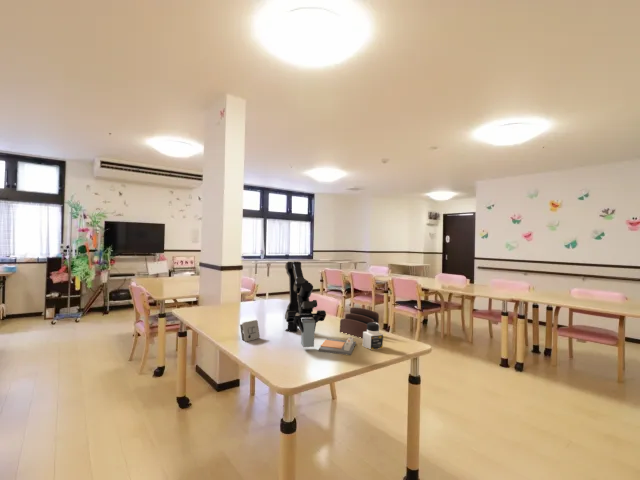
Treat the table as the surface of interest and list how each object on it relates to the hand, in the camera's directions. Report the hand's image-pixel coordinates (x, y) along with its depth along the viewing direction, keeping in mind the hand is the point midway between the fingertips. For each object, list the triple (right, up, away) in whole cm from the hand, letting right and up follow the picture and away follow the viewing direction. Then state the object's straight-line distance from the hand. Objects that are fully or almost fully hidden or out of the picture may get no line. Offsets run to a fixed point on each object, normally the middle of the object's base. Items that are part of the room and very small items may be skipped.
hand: (308, 331), depth 153 cm
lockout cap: (-1, -7, +1) cm, 7 cm away
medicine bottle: (+31, -10, +9) cm, 34 cm away
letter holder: (+27, -10, +31) cm, 42 cm away
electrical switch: (-31, -8, +14) cm, 34 cm away
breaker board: (+14, -9, +7) cm, 18 cm away
